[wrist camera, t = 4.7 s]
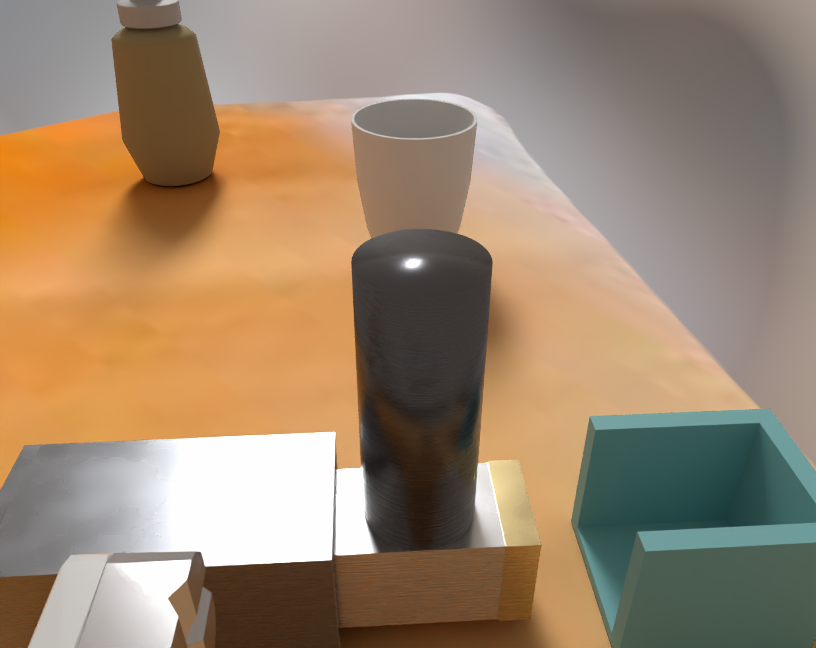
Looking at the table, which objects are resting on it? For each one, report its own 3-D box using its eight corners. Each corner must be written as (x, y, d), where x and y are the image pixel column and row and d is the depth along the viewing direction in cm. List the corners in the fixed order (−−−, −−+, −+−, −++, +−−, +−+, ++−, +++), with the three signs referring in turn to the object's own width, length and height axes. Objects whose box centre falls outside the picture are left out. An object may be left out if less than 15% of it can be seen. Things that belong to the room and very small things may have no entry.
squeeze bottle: (178, 200, 61) (134, -41, 51) (111, 181, 64) (57, -49, 54) (244, 169, 67) (216, -54, 57) (179, 152, 70) (141, -60, 60)
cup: (453, 225, 57) (457, 95, 52) (484, 276, 50) (493, 133, 45) (349, 235, 56) (342, 102, 50) (367, 289, 49) (362, 143, 43)
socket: (616, 660, 27) (645, 551, 24) (571, 521, 32) (589, 416, 29) (810, 649, 27) (865, 539, 24) (733, 512, 33) (769, 408, 30)
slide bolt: (58, 645, 26) (-86, 314, 19) (92, 553, 30) (-19, 240, 22) (530, 619, 27) (578, 292, 20) (510, 532, 31) (545, 224, 23)
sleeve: (10, 689, 26) (-48, 579, 23) (65, 551, 31) (24, 445, 28) (340, 669, 27) (331, 560, 23) (342, 538, 32) (335, 432, 28)
